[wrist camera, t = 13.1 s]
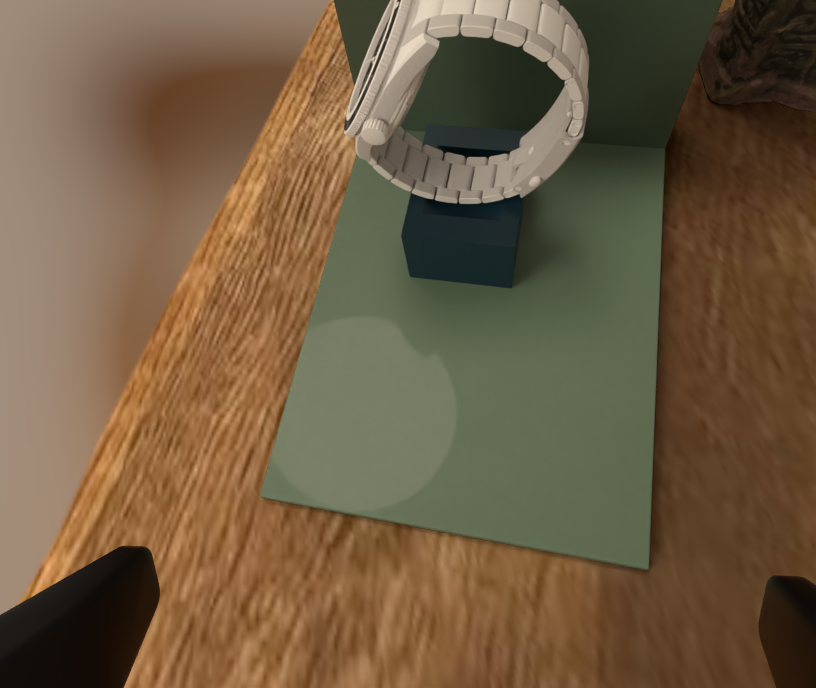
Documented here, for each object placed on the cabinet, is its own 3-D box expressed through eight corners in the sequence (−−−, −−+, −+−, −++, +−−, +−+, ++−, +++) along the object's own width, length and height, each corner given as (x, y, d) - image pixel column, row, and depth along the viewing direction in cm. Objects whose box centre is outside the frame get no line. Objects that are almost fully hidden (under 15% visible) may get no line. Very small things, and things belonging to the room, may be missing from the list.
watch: (391, 170, 29) (341, -70, 19) (567, 185, 27) (616, -68, 17) (365, 273, 26) (293, 64, 17) (554, 295, 25) (601, 80, 15)
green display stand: (646, 570, 21) (733, 543, 14) (262, 498, 23) (162, 443, 16) (664, 120, 29) (726, -50, 21) (373, 102, 31) (340, -55, 24)
